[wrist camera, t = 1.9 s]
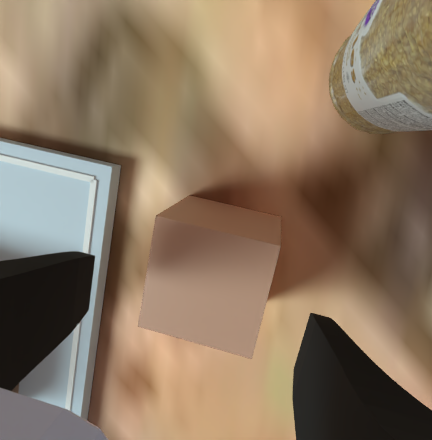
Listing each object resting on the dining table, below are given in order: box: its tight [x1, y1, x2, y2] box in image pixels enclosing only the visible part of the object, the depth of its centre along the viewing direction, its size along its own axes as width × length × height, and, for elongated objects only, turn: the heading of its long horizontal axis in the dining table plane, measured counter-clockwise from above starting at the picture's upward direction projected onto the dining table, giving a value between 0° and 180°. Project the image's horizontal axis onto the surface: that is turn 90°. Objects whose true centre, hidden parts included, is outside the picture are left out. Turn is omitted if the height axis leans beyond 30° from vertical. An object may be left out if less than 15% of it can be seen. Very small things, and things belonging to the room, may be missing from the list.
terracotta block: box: [138, 195, 281, 359], centre depth 16 cm, size 5×5×5 cm
